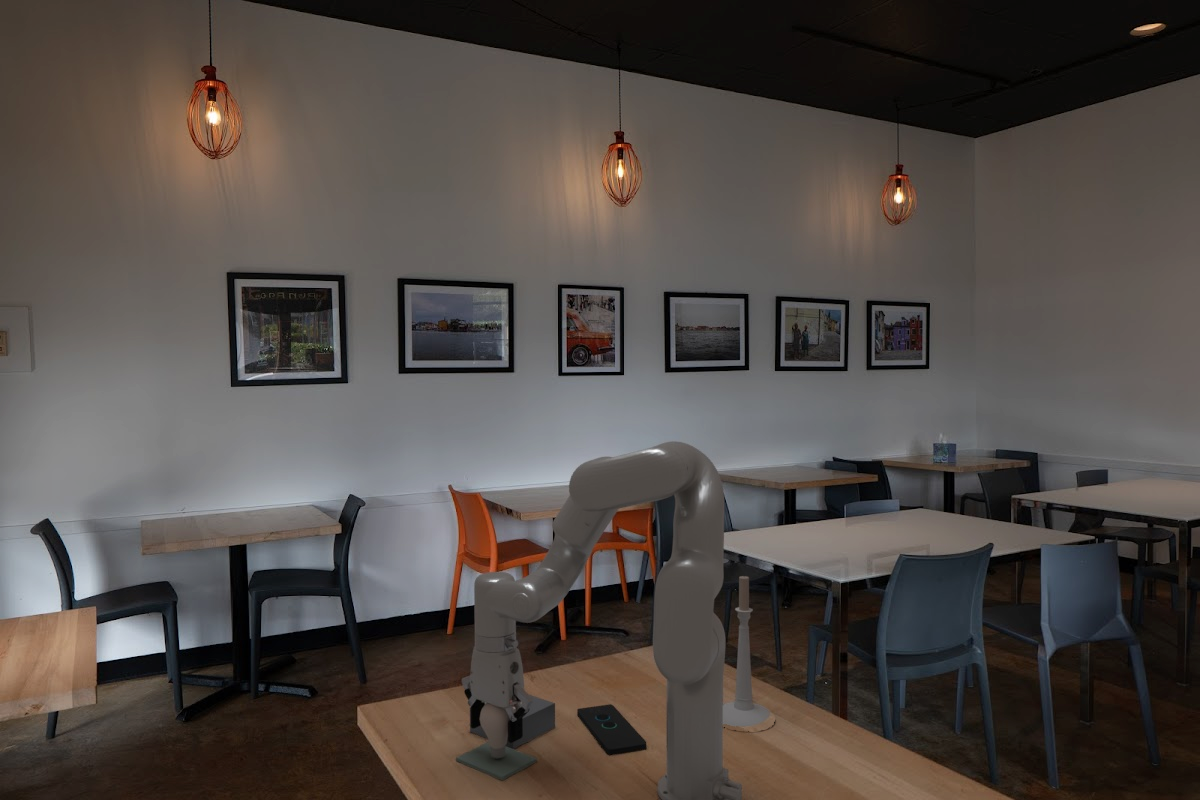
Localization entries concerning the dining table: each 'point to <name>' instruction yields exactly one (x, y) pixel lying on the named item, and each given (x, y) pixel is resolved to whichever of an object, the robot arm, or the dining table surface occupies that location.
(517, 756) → the mat
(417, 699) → the dining table surface
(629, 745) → the smart home device
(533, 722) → the grey button control box
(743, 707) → the candlestick
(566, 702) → the dining table surface
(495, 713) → the light bulb
